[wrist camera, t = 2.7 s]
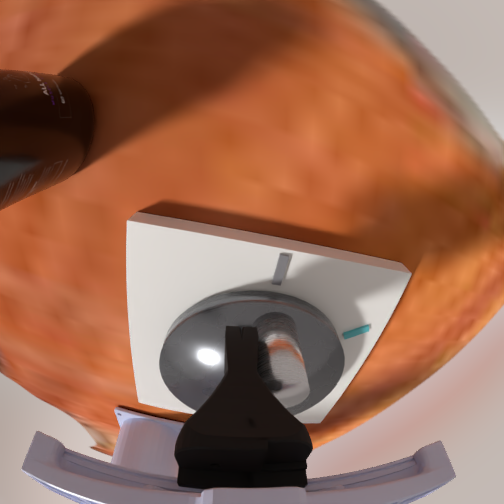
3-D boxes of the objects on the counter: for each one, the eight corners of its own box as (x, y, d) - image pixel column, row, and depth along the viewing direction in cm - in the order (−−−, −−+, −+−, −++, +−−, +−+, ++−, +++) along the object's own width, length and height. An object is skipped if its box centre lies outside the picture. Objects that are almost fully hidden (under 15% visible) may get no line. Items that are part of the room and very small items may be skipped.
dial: (301, 414, 21) (310, 470, 16) (160, 394, 19) (147, 454, 14) (369, 309, 16) (406, 377, 11) (171, 269, 15) (139, 344, 9)
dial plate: (317, 411, 24) (320, 424, 22) (142, 390, 22) (138, 404, 20) (401, 262, 17) (413, 275, 15) (136, 211, 15) (125, 221, 13)
